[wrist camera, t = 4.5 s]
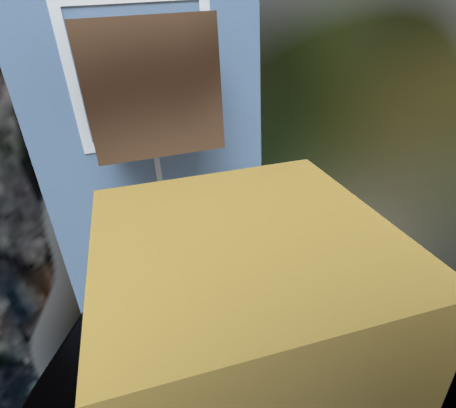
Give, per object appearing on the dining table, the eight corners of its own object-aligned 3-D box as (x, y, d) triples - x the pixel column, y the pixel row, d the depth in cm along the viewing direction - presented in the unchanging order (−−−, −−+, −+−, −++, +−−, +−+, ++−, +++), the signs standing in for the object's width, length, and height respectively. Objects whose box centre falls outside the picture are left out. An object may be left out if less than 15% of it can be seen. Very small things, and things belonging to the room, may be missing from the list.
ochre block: (295, 309, 11) (408, 489, 7) (131, 350, 10) (147, 594, 6) (306, 159, 9) (486, 295, 5) (93, 190, 8) (74, 408, 4)
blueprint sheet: (260, 293, 27) (263, 298, 26) (90, 336, 24) (90, 342, 24) (255, -80, 16) (259, -83, 16) (-45, -80, 14) (-50, -83, 13)
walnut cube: (198, 118, 19) (224, 147, 15) (100, 131, 18) (99, 166, 14) (188, 12, 17) (216, 10, 13) (76, 19, 16) (64, 19, 12)
